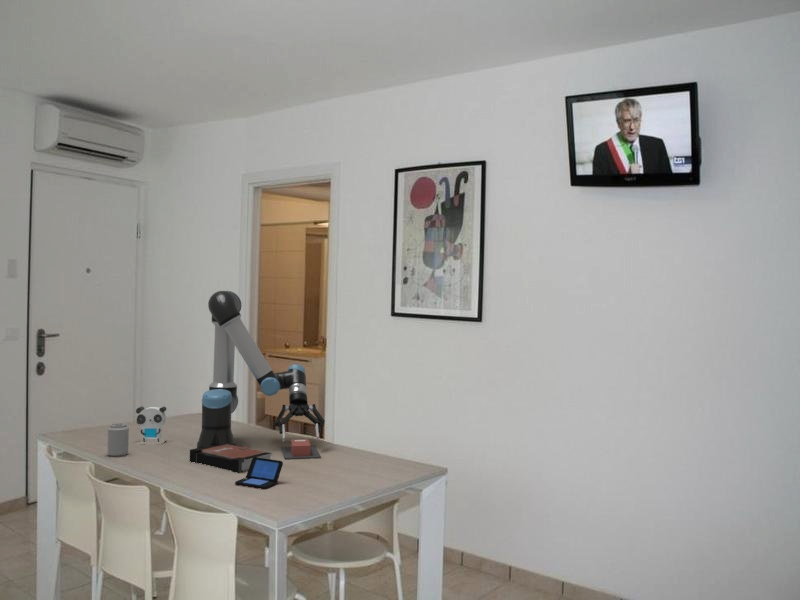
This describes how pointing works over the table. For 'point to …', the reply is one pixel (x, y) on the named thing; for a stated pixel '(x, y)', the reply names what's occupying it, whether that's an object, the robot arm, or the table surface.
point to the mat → (288, 455)
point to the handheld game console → (262, 473)
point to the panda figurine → (151, 422)
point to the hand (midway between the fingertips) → (300, 439)
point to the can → (118, 439)
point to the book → (227, 456)
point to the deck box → (300, 447)
